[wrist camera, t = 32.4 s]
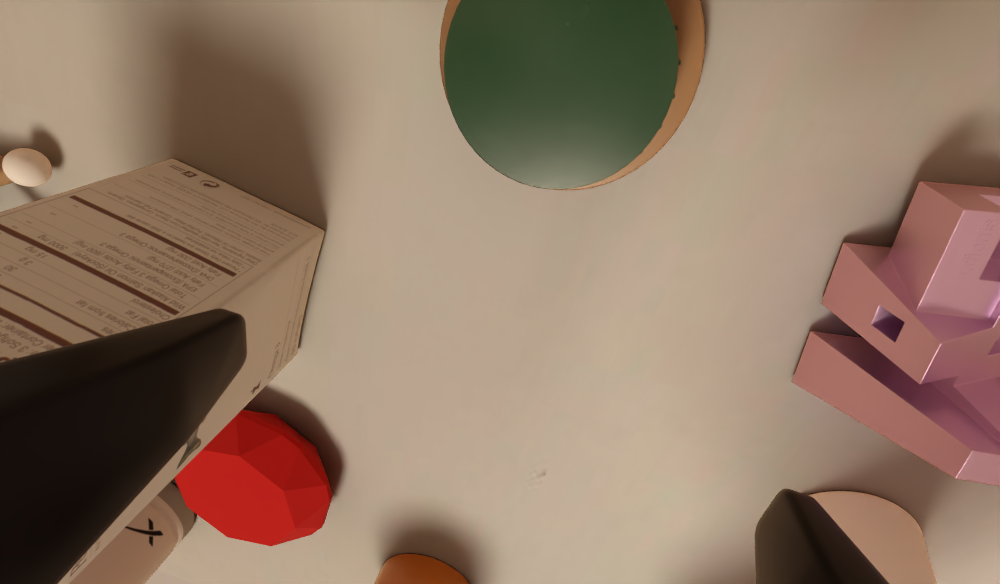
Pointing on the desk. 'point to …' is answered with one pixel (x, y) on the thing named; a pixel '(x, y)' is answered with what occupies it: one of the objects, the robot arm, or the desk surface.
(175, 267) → the white packaging box
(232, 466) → the gemstone
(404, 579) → the jam jar
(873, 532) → the cosmetic bottle
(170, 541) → the travel mug
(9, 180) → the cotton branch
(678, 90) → the coaster
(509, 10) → the jam lid
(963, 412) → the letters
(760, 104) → the desk surface
